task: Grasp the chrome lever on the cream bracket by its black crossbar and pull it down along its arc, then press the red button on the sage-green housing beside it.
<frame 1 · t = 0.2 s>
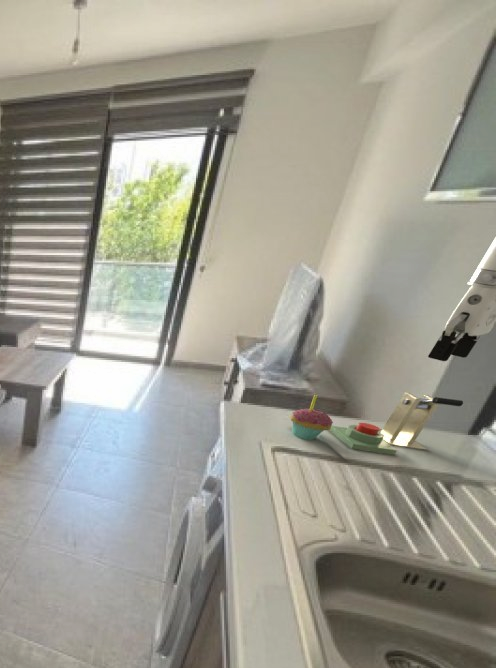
hand: (446, 357, 110), 24 cm above the table, tool pointing down, fingers open, 9 cm apart
lever: (431, 402, 116), point 13 cm above the table, hinge at 25.0°
button box: (357, 445, 122), on the table
cupcake: (302, 436, 126), on the table
bracket: (393, 441, 125), on the table
button: (367, 429, 120), point 5 cm above the table, slide at 0.2 cm
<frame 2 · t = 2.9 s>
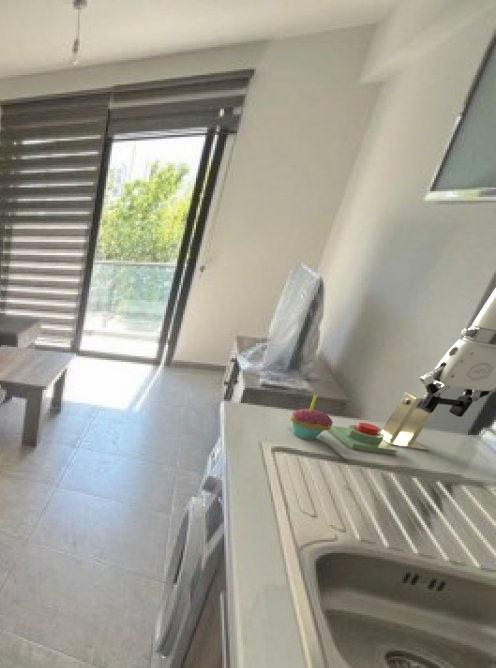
hand: (440, 411, 113), 12 cm above the table, tool pointing down, fingers closed on lever, 5 cm apart
lever: (431, 402, 116), point 13 cm above the table, hinge at 25.0°, touching gripper
everything else where it was.
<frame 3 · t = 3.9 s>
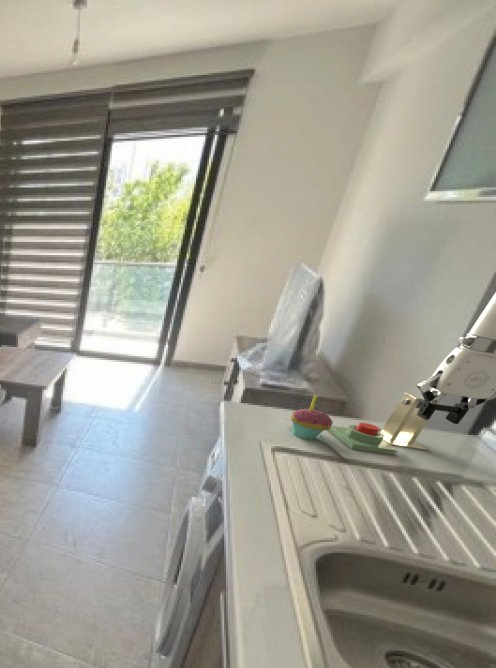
hand: (437, 418, 114), 10 cm above the table, tool pointing down, fingers closed on lever, 5 cm apart
lever: (430, 405, 116), point 12 cm above the table, hinge at 13.8°, touching gripper
everything else where it was.
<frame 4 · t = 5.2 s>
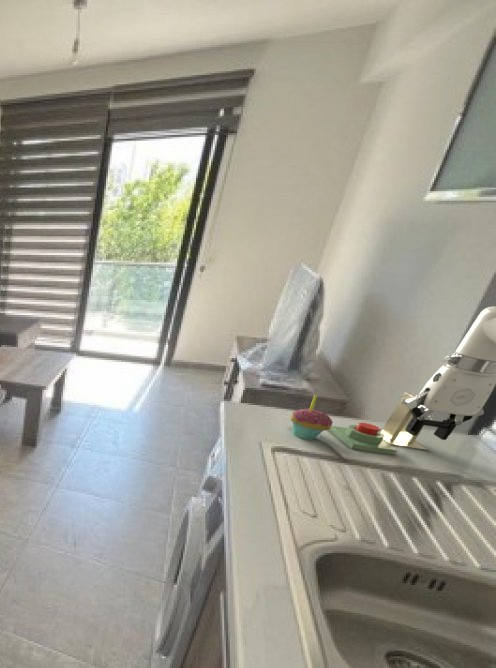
hand: (425, 434, 116), 6 cm above the table, tool pointing down, fingers open, 5 cm apart
lever: (425, 412, 117), point 10 cm above the table, hinge at -15.4°
everything else where it was.
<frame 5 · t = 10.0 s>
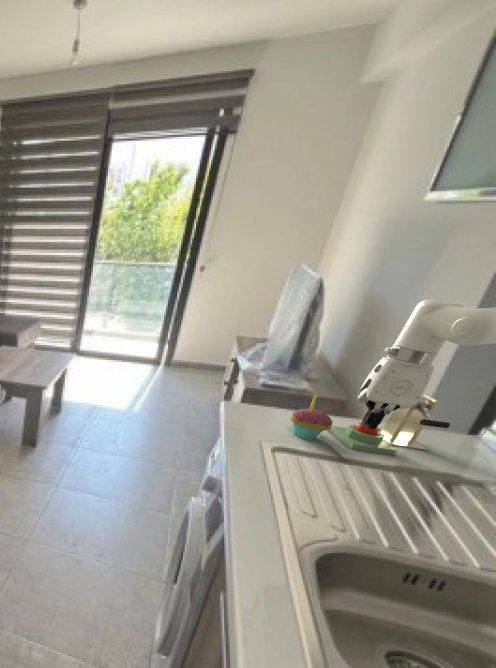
hand: (368, 426, 120), 5 cm above the table, tool pointing down, fingers closed
button: (367, 429, 120), point 4 cm above the table, slide at 0.1 cm, touching gripper
everything else where it was.
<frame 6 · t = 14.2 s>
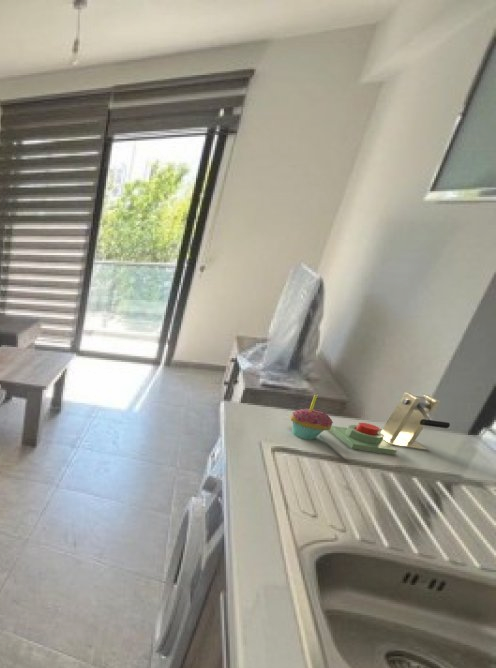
button: (367, 429, 120), point 5 cm above the table, slide at 0.1 cm
everything else where it was.
at the end: lever at -15° (first picture: +25°); button pushed in 1.1 cm at the most during the clip, back to where it started at the end; button slide at 0.1 cm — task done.
